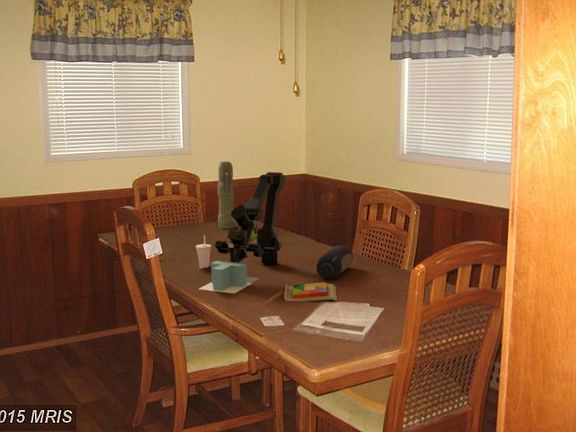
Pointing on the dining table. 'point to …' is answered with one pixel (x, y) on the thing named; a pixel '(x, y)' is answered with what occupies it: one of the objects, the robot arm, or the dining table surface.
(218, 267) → the t block
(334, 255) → the portable speaker
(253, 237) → the plant
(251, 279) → the mat
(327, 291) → the wooden puzzle
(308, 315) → the dining table surface
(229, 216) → the thermos
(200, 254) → the smoothie
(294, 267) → the dining table surface
